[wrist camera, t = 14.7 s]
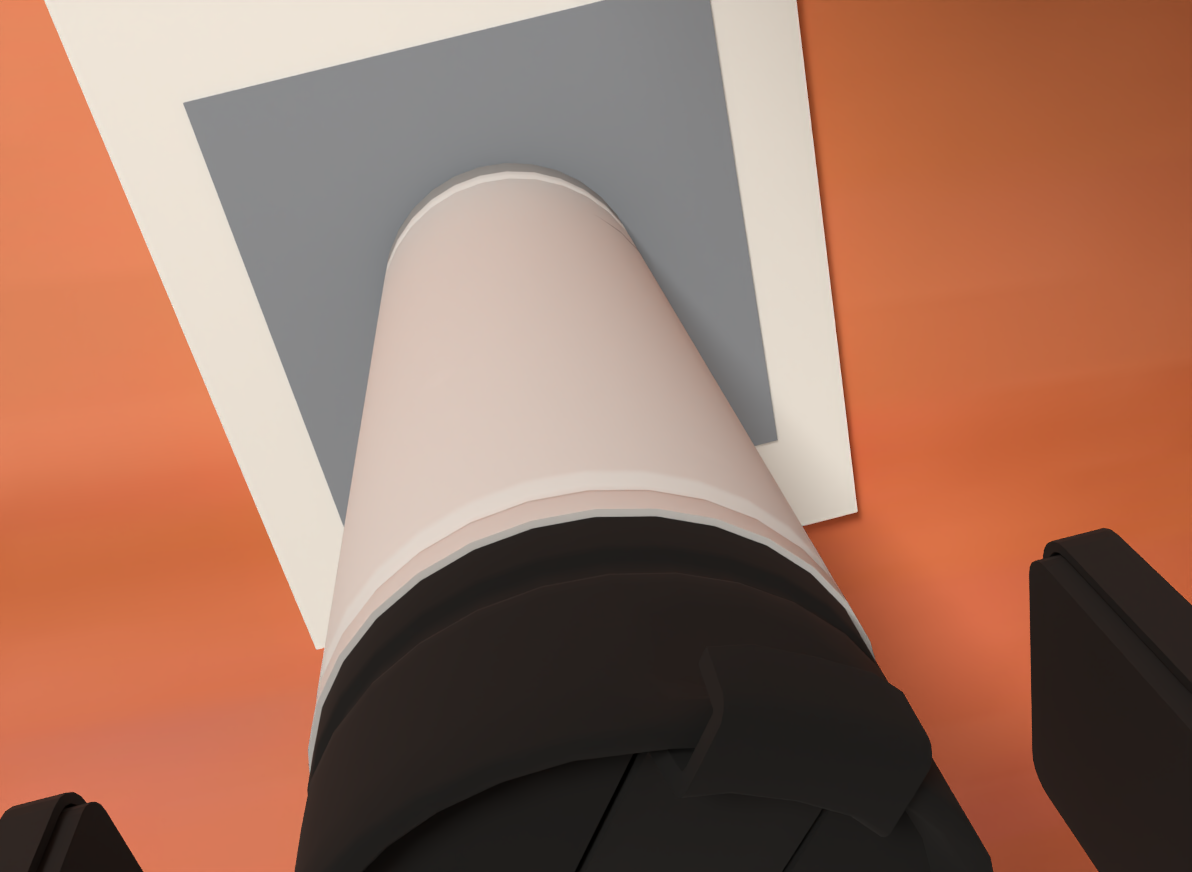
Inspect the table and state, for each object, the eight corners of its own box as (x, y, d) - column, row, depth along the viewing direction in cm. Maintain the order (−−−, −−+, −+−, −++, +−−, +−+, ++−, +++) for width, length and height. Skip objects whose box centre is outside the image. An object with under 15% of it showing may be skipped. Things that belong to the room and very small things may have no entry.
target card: (45, -21, 23) (34, -19, 22) (765, -195, 23) (774, -197, 23) (318, 637, 31) (316, 651, 30) (850, 501, 31) (858, 513, 31)
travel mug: (680, 196, 26) (1201, 796, 8) (587, 430, 28) (832, 1290, 11) (431, 108, 24) (401, 617, 7) (355, 365, 27) (182, 1250, 9)
